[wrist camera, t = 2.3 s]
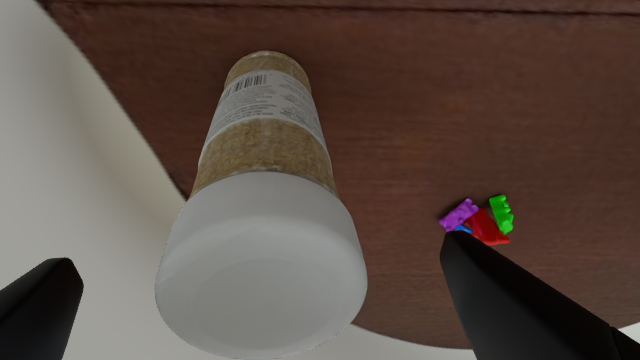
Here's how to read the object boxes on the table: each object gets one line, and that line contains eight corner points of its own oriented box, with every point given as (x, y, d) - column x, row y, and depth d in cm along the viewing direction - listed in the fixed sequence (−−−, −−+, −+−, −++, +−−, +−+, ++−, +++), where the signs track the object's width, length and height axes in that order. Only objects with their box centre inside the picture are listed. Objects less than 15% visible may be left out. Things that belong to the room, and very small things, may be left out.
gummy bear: (432, 228, 25) (453, 264, 22) (438, 198, 24) (461, 233, 21) (498, 221, 26) (527, 256, 23) (507, 191, 24) (540, 224, 21)
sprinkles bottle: (242, 139, 20) (204, 385, 9) (210, 60, 17) (98, 263, 6) (320, 119, 20) (384, 342, 8) (300, 36, 17) (353, 198, 6)
